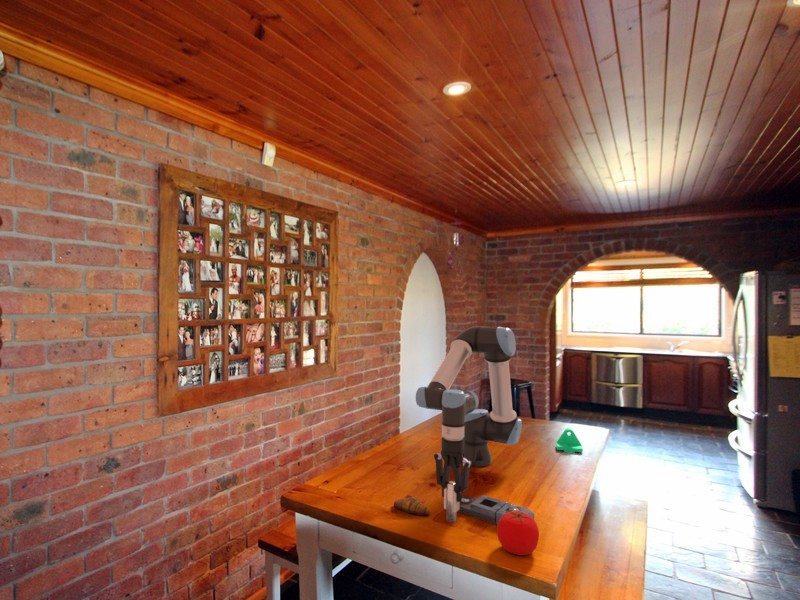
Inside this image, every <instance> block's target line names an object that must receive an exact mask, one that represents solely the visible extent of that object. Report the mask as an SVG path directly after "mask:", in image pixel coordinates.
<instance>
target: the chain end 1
mask: <svg viewBox="0 0 800 600" xmlns="http://www.w3.org/2000/svg"><path fill="white" fill-rule="evenodd" d="M476 499H477V498H476V497H472V496H469V495H466V494H462V500H461V501H460V504H459V510H458V511H457V512H458V513H461V514H464V515H467V516H470V517H473V518H476V519H479V520H481V519H482V520H481V521H484V520H485V522H487V521H488V522H487V523H490V522H491V524H492V525H496V518H493V517H490V516H487V515H484V514H481V513H478V512H475V511H472V510H470V504H471V503H472V502H474V501H475V500H476ZM485 506H488V505H485ZM488 507H492V506H488Z"/></svg>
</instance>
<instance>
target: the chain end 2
mask: <svg viewBox="0 0 800 600" xmlns="http://www.w3.org/2000/svg"><path fill="white" fill-rule="evenodd" d="M485 505H488V506H492V507H488V506H485ZM470 510H472V511H475V512H478V513H481V514H484V515H487V516H490V517H493V518H496V524H495V525H496V526H497V525H498V522H499V520H500V518H501V517H502V516H503V515H504V514H506V513H508V512H512V511H520V512H524V513H526V514H528V515H529V516H531V517H532V518H533V519H534V520H535V512H534V511H532V510H531V509H528V508H526V507H524V506H519V505H517V504H513V503H510V502H507V501H503V500H500V499H497V498H493V497H490V496H487V495H483V494H482V495H481V496H479V497H478V498H476V500H475V501H474V502H472V503H471V504H470Z"/></svg>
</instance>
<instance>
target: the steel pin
mask: <svg viewBox="0 0 800 600" xmlns="http://www.w3.org/2000/svg"><path fill="white" fill-rule="evenodd" d="M454 491H456V488H455V480H454V481H453V480H449V482H447V509H446V522H449V523H455V522H456V521H457V512H453V500H454Z"/></svg>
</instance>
